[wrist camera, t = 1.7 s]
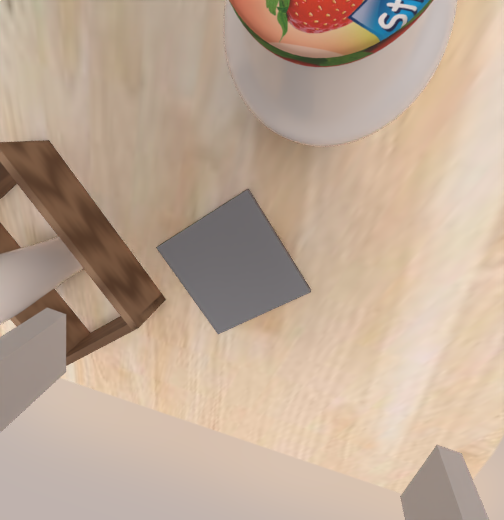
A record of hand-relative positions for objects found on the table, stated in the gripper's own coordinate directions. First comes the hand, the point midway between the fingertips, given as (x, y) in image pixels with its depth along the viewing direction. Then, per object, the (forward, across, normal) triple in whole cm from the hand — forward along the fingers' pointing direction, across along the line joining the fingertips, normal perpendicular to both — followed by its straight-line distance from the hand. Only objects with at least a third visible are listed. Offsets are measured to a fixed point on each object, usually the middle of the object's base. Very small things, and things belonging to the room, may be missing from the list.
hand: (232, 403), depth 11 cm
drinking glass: (+28, -28, -14) cm, 42 cm away
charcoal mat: (+27, -6, -8) cm, 29 cm away
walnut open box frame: (+27, -28, -14) cm, 41 cm away
